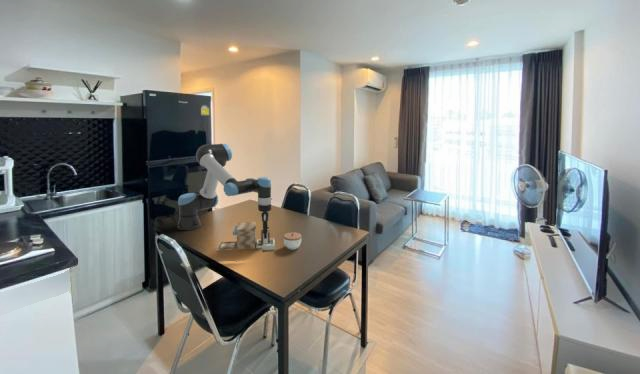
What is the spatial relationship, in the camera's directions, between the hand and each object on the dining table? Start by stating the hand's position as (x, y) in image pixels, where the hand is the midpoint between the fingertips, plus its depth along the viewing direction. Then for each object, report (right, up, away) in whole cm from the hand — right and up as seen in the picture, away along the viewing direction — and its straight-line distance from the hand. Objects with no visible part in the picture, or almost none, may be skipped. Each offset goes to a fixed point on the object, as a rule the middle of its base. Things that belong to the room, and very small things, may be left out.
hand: (265, 241), depth 181 cm
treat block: (0, -1, 0) cm, 1 cm away
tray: (0, -3, +1) cm, 3 cm away
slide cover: (-13, +6, -3) cm, 15 cm away
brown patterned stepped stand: (-18, -4, -2) cm, 18 cm away
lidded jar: (+16, -4, 0) cm, 17 cm away
